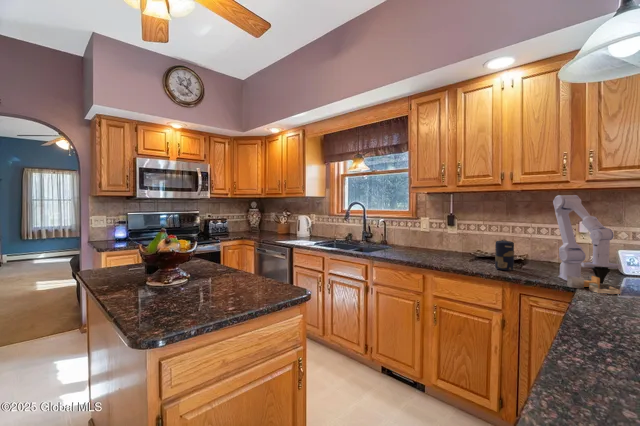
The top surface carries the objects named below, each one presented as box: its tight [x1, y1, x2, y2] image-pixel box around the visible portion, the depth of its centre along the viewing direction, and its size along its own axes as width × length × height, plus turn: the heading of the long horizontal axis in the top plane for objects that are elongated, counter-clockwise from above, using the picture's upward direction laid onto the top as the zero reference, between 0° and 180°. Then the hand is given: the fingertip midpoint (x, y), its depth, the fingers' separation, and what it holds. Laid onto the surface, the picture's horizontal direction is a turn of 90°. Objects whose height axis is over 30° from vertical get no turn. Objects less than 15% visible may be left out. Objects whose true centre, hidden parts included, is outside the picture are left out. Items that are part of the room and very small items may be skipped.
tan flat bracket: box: [588, 285, 621, 295], centre depth 138 cm, size 6×8×2 cm
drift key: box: [584, 275, 601, 289], centre depth 146 cm, size 4×6×5 cm
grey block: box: [566, 275, 585, 289], centre depth 147 cm, size 4×5×5 cm
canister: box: [494, 239, 515, 271], centre depth 184 cm, size 10×10×18 cm
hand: (600, 283), depth 145 cm, fingers closed
